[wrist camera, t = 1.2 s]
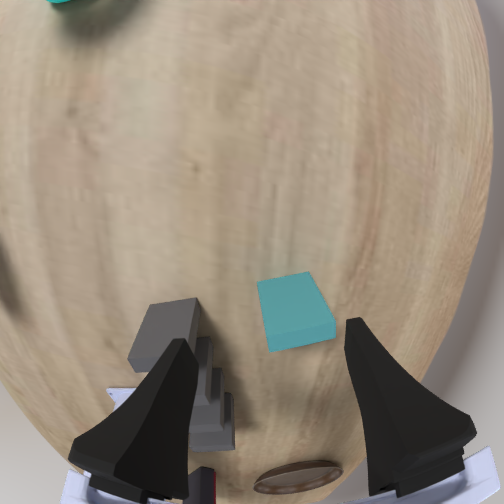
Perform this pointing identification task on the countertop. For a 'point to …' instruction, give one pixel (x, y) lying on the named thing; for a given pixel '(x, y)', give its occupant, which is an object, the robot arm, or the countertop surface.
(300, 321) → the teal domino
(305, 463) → the plant saucer
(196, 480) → the toy cabinet
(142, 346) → the black domino
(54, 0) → the donuts
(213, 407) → the black domino
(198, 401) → the domino block
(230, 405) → the black domino
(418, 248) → the countertop surface
